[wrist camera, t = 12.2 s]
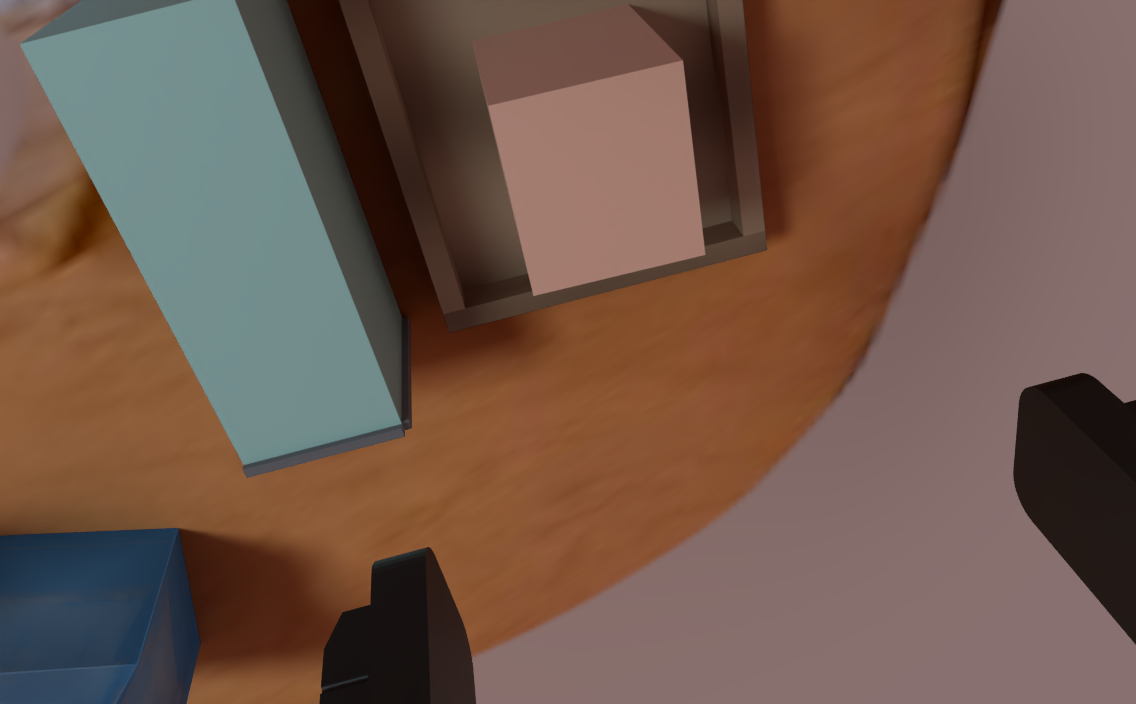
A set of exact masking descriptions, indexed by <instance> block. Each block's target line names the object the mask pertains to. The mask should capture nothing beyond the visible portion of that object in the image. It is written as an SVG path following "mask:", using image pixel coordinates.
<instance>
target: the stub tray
mask: <svg viewBox="0 0 1136 704" xmlns="http://www.w3.org/2000/svg"><path fill="white" fill-rule="evenodd" d="M339 3H340V6H341V9H342V12H343V15H344V18H345V21H346V24H347V27H348V30H349V33H350V36H351V39H352V42H353V45H354V48H355V51H356V54H357V57H358V60H359V63H360V66H361V69H362V72H363V75H364V78H365V81H366V84H367V87H368V90H369V93H370V96H371V99H372V102H373V105H374V108H375V111H376V114H377V117H378V120H379V123H380V126H381V129H382V132H383V135H384V138H385V141H386V144H387V147H388V150H389V153H390V156H391V159H392V162H393V165H394V168H395V171H396V174H397V177H398V180H399V183H400V186H401V189H402V192H403V195H404V198H405V201H406V204H407V207H408V210H409V213H410V216H411V219H412V222H413V225H414V228H415V231H416V234H417V237H418V240H419V243H420V246H421V249H422V252H423V255H424V258H425V261H426V264H427V267H428V270H429V273H430V276H431V279H432V282H433V285H434V288H435V291H436V294H437V297H438V300H439V303H440V306H441V309H442V312H443V315H444V318H445V321H446V324H447V327H448V330H449V333H450V332H454V331H458V330H462V329H466V328H470V327H474V326H477V325H481V324H485V323H489V322H493V321H497V320H500V319H504V318H508V317H512V316H516V315H520V314H524V313H527V312H531V311H535V310H539V309H543V308H547V307H550V306H554V305H558V304H562V303H566V302H570V301H574V300H577V299H581V298H585V297H589V296H593V295H597V294H600V293H604V292H608V291H612V290H616V289H620V288H624V287H627V286H631V285H635V284H639V283H643V282H647V281H650V280H654V279H658V278H662V277H666V276H670V275H674V274H677V273H681V272H685V271H689V270H693V269H697V268H700V267H704V266H708V265H712V264H716V263H720V262H724V261H727V260H731V259H735V258H739V257H743V256H747V255H750V254H754V253H758V252H762V251H766V250H767V245H766V235H765V224H764V214H763V204H762V194H761V183H760V173H759V163H758V153H757V142H756V132H755V122H754V112H753V101H752V91H751V81H750V71H749V60H748V50H747V40H746V30H745V19H744V9H743V0H339ZM624 5H629V6H630V7H631V8H632V9H633V10H634V11H635V12H636V13H637V14H638V15H639V16H640V17H641V18H642V19H643V20H644V21H645V22H646V23H647V24H648V25H649V26H650V27H651V28H652V29H653V30H654V31H655V32H656V33H657V34H658V35H659V36H660V37H661V38H662V39H663V40H664V41H665V42H666V43H667V45H668V46H669V47H670V48H671V49H672V50H673V51H674V52H675V53H676V54H677V55H678V56H679V57H680V58H681V59H682V60H683V65H684V74H685V82H686V91H687V100H688V108H689V117H690V126H691V134H692V143H693V152H694V160H695V169H696V178H697V186H698V195H699V204H700V212H701V221H702V230H703V238H704V247H705V255H703V256H698V257H694V258H690V259H686V260H682V261H678V262H673V263H669V264H665V265H661V266H657V267H652V268H648V269H644V270H640V271H636V272H632V273H627V274H623V275H619V276H615V277H611V278H607V279H602V280H598V281H594V282H590V283H586V284H582V285H577V286H573V287H569V288H565V289H561V290H557V291H552V292H548V293H544V294H540V295H536V296H533V292H532V288H531V284H530V280H529V276H528V272H527V268H526V264H525V260H524V256H523V252H522V248H521V244H520V240H519V235H518V231H517V227H516V223H515V219H514V215H513V211H512V207H511V203H510V199H509V195H508V191H507V187H506V182H505V178H504V174H503V170H502V166H501V162H500V157H499V153H498V149H497V145H496V141H495V137H494V132H493V128H492V124H491V120H490V116H489V111H488V107H487V103H486V99H485V95H484V91H483V86H482V82H481V78H480V74H479V70H478V66H477V61H476V57H475V53H474V49H473V45H472V41H473V40H477V39H481V38H486V37H490V36H494V35H499V34H503V33H507V32H512V31H516V30H520V29H525V28H529V27H533V26H538V25H542V24H546V23H551V22H555V21H559V20H563V19H568V18H572V17H576V16H581V15H585V14H589V13H594V12H598V11H602V10H607V9H611V8H615V7H620V6H624Z"/></svg>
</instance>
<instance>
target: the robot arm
mask: <svg viewBox="0 0 1136 704" xmlns="http://www.w3.org/2000/svg"><path fill="white" fill-rule="evenodd" d="M1013 473H1014V474H1013V475H1014V484H1015V488H1016V492H1017V494H1018V497H1019V500H1020V502H1021V504H1022V506H1023V508H1024V510H1025V512H1026V513H1027V515H1028V516H1029V518H1030V519H1031V520H1032V522H1033V523H1034V524H1035V525H1036V526H1037V528H1038V529H1039V530H1040V531H1041V532H1042V533H1043V535H1044V536H1045V537H1046V538H1047V540H1048V541H1049V542H1050V543H1051V544H1052V545H1053V547H1054V548H1055V549H1056V550H1057V551H1058V553H1059V554H1060V555H1061V556H1062V557H1063V559H1064V560H1065V561H1066V562H1067V563H1068V564H1069V566H1070V567H1071V568H1072V569H1073V570H1074V572H1075V573H1076V574H1077V575H1078V576H1079V578H1080V579H1081V580H1082V581H1083V582H1084V584H1085V585H1086V586H1087V587H1088V588H1089V589H1090V591H1091V592H1092V593H1093V594H1094V595H1095V597H1096V598H1097V599H1098V600H1099V601H1100V602H1101V604H1102V605H1103V606H1104V607H1105V608H1106V610H1107V611H1108V612H1109V613H1110V614H1111V616H1112V617H1113V618H1114V619H1115V620H1116V622H1117V623H1118V624H1119V625H1120V626H1121V628H1122V629H1123V630H1124V631H1125V632H1126V633H1127V635H1128V636H1129V637H1130V638H1131V639H1132V641H1133V642H1134V643H1135V644H1136V400H1134V401H1130V402H1127V403H1123V402H1122V401H1121V400H1120V399H1119V398H1118V397H1116V396H1115V395H1114V394H1113V393H1112V392H1111V391H1110V390H1108V389H1107V388H1106V387H1105V386H1104V385H1103V384H1101V383H1100V382H1099V381H1098V380H1097V379H1096V378H1094V377H1093V376H1091V375H1089V374H1085V373H1080V374H1076V375H1072V376H1068V377H1065V378H1061V379H1057V380H1054V381H1050V382H1046V383H1043V384H1039V385H1035V386H1032V387H1028V388H1026V389H1024V390H1023V392H1022V393H1021V396H1020V400H1019V410H1018V422H1017V434H1016V446H1015V458H1014V471H1013ZM321 688H322V694H320V704H476V697H475V685H474V674H473V663H472V657H471V651H470V646H469V642H468V638H467V634H466V630H465V627H464V624H463V621H462V619H461V616H460V614H459V612H458V609H457V607H456V604H455V602H454V600H453V597H452V595H451V593H450V590H449V588H448V585H447V583H446V581H445V578H444V576H443V573H442V571H441V569H440V566H439V564H438V562H437V559H436V557H435V555H434V553H433V551H432V550H431V548H429V547H427V548H423V549H419V550H416V551H412V552H408V553H405V554H401V555H397V556H393V557H390V558H386V559H382V560H379V561H375V562H374V563H373V566H372V575H371V605H368V606H364V607H360V608H357V609H353V610H349V611H346V612H342V614H341V616H340V618H339V620H338V622H337V624H336V626H335V628H334V630H333V632H332V634H331V636H330V638H329V640H328V642H327V644H326V646H325V648H324V656H323V668H322V680H321Z"/></svg>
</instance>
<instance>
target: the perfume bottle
mask: <svg viewBox="0 0 1136 704" xmlns="http://www.w3.org/2000/svg"><path fill="white" fill-rule="evenodd" d="M199 648H200V638H199V633H198V628H197V623H196V617H195V612H194V607H193V602H192V596H191V591H190V586H189V581H188V576H187V570H186V565H185V560H184V555H183V549H182V544H181V539H180V534H179V529H178V528H166V529H143V530H120V531H97V532H74V533H51V534H27V535H4V536H0V704H186V703H187V699H188V695H189V690H190V686H191V682H192V678H193V673H194V669H195V665H196V660H197V656H198V652H199Z"/></svg>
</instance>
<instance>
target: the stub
mask: <svg viewBox="0 0 1136 704" xmlns="http://www.w3.org/2000/svg"><path fill="white" fill-rule="evenodd" d="M472 45H473V49H474V53H475V57H476V61H477V66H478V70H479V74H480V78H481V82H482V86H483V91H484V95H485V99H486V103H487V107H488V111H489V116H490V120H491V124H492V128H493V132H494V137H495V141H496V145H497V149H498V153H499V157H500V162H501V166H502V170H503V174H504V178H505V182H506V187H507V191H508V195H509V199H510V203H511V207H512V211H513V215H514V219H515V223H516V227H517V231H518V235H519V240H520V244H521V248H522V252H523V256H524V260H525V264H526V268H527V272H528V276H529V280H530V284H531V288H532V292H533V296H536V295H540V294H544V293H548V292H552V291H557V290H561V289H565V288H569V287H573V286H577V285H582V284H586V283H590V282H594V281H598V280H602V279H607V278H611V277H615V276H619V275H623V274H627V273H632V272H636V271H640V270H644V269H648V268H652V267H657V266H661V265H665V264H669V263H673V262H678V261H682V260H686V259H690V258H694V257H698V256H703V255H705V247H704V238H703V230H702V221H701V212H700V204H699V195H698V186H697V178H696V169H695V160H694V152H693V143H692V134H691V126H690V117H689V108H688V100H687V91H686V82H685V74H684V65H683V60H682V59H681V58H680V57H679V56H678V55H677V54H676V53H675V52H674V51H673V50H672V49H671V48H670V47H669V46H668V45H667V43H666V42H665V41H664V40H663V39H662V38H661V37H660V36H659V35H658V34H657V33H656V32H655V31H654V30H653V29H652V28H651V27H650V26H649V25H648V24H647V23H646V22H645V21H644V20H643V19H642V18H641V17H640V16H639V15H638V14H637V13H636V12H635V11H634V10H633V9H632V8H631V7H630V6H629V5H624V6H620V7H615V8H611V9H607V10H602V11H598V12H594V13H589V14H585V15H581V16H576V17H572V18H568V19H563V20H559V21H555V22H551V23H546V24H542V25H538V26H533V27H529V28H525V29H520V30H516V31H512V32H507V33H503V34H499V35H494V36H490V37H486V38H481V39H477V40H473V41H472Z"/></svg>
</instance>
